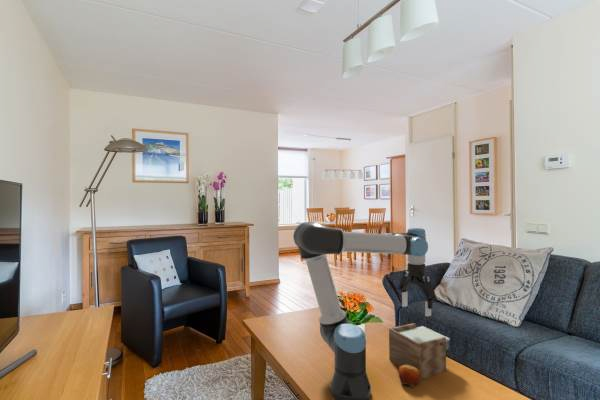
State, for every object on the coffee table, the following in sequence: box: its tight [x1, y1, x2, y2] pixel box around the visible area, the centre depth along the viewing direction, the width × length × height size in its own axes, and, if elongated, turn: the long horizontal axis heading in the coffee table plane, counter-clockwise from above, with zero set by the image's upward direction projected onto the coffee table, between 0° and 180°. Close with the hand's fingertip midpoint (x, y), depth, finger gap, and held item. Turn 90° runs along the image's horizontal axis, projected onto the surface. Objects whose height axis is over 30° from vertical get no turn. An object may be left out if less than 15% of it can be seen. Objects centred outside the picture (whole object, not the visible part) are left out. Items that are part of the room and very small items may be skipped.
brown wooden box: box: [388, 322, 447, 381], centre depth 140 cm, size 15×19×14 cm
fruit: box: [398, 365, 420, 389], centre depth 126 cm, size 8×8×8 cm
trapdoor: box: [399, 325, 451, 351], centre depth 141 cm, size 17×15×5 cm
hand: (416, 310), depth 143 cm, fingers open, 13 cm apart
